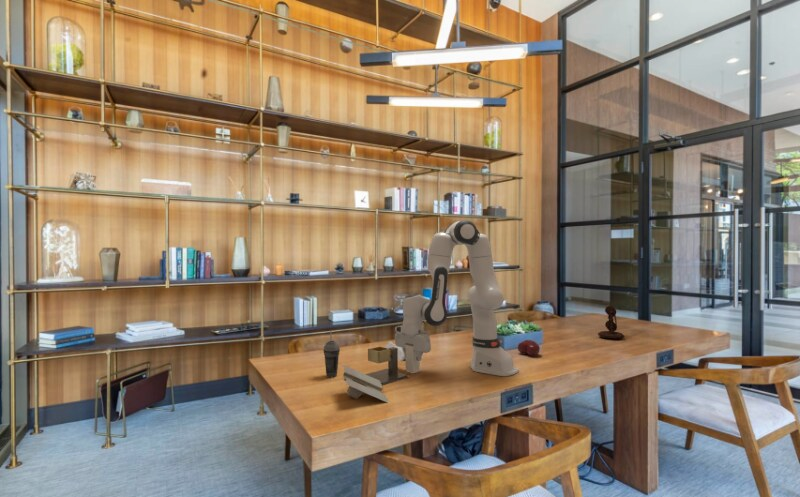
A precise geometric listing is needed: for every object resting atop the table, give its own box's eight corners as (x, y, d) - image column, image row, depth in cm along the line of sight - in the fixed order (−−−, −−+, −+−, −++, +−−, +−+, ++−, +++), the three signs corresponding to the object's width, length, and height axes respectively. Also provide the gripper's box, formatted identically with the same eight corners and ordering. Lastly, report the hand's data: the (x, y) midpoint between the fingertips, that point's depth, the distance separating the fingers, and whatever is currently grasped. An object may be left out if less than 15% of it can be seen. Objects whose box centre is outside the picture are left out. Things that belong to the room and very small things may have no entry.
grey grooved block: (364, 397, 163) (332, 374, 159) (380, 379, 163) (349, 355, 159) (370, 423, 145) (335, 397, 141) (388, 403, 145) (354, 376, 141)
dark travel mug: (326, 379, 172) (326, 333, 173) (321, 375, 179) (321, 330, 179) (342, 377, 176) (342, 331, 176) (336, 372, 182) (336, 329, 182)
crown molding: (421, 360, 205) (421, 353, 206) (399, 362, 202) (399, 355, 202) (403, 346, 235) (403, 340, 235) (383, 348, 232) (383, 342, 232)
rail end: (419, 371, 184) (419, 343, 184) (412, 373, 181) (412, 344, 181) (412, 369, 187) (412, 341, 188) (405, 371, 184) (405, 343, 184)
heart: (528, 349, 221) (515, 354, 216) (527, 336, 220) (514, 340, 215) (546, 354, 211) (533, 360, 206) (545, 340, 210) (532, 345, 205)
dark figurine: (626, 341, 244) (625, 308, 244) (599, 339, 249) (599, 307, 250) (622, 336, 258) (621, 305, 258) (596, 335, 263) (596, 304, 263)
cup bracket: (407, 377, 175) (407, 347, 175) (380, 385, 164) (380, 354, 164) (386, 370, 185) (386, 342, 185) (359, 378, 174) (359, 348, 174)
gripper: (433, 331, 179) (434, 362, 179) (402, 325, 194) (402, 354, 194) (424, 333, 175) (424, 364, 175) (392, 327, 190) (392, 356, 189)
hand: (412, 359), depth 184 cm, fingers open, 6 cm apart
